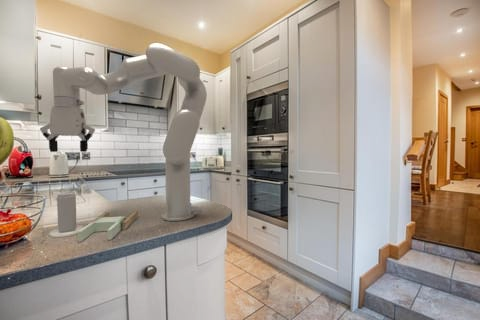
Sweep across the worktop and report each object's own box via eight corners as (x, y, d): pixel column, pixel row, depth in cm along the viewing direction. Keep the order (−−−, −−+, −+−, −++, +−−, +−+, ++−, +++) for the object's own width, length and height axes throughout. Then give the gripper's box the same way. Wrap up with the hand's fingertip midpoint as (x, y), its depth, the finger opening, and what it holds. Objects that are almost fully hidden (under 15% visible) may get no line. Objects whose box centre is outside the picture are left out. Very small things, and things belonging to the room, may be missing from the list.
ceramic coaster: (89, 226, 80) (89, 224, 80) (75, 236, 71) (75, 234, 71) (60, 228, 78) (60, 226, 78) (42, 238, 69) (42, 235, 69)
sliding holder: (126, 224, 82) (126, 216, 82) (111, 239, 68) (110, 229, 68) (99, 225, 80) (98, 217, 80) (77, 241, 67) (77, 231, 66)
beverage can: (65, 227, 76) (64, 192, 76) (80, 227, 77) (79, 192, 76) (54, 233, 72) (52, 195, 71) (69, 232, 72) (68, 195, 71)
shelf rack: (138, 216, 92) (138, 210, 92) (125, 229, 77) (125, 222, 77) (105, 218, 90) (105, 212, 90) (87, 231, 75) (86, 224, 75)
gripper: (98, 106, 87) (99, 151, 88) (47, 105, 84) (48, 151, 85) (88, 102, 79) (90, 151, 80) (32, 100, 77) (34, 151, 77)
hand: (68, 151), depth 82 cm, fingers open, 9 cm apart
